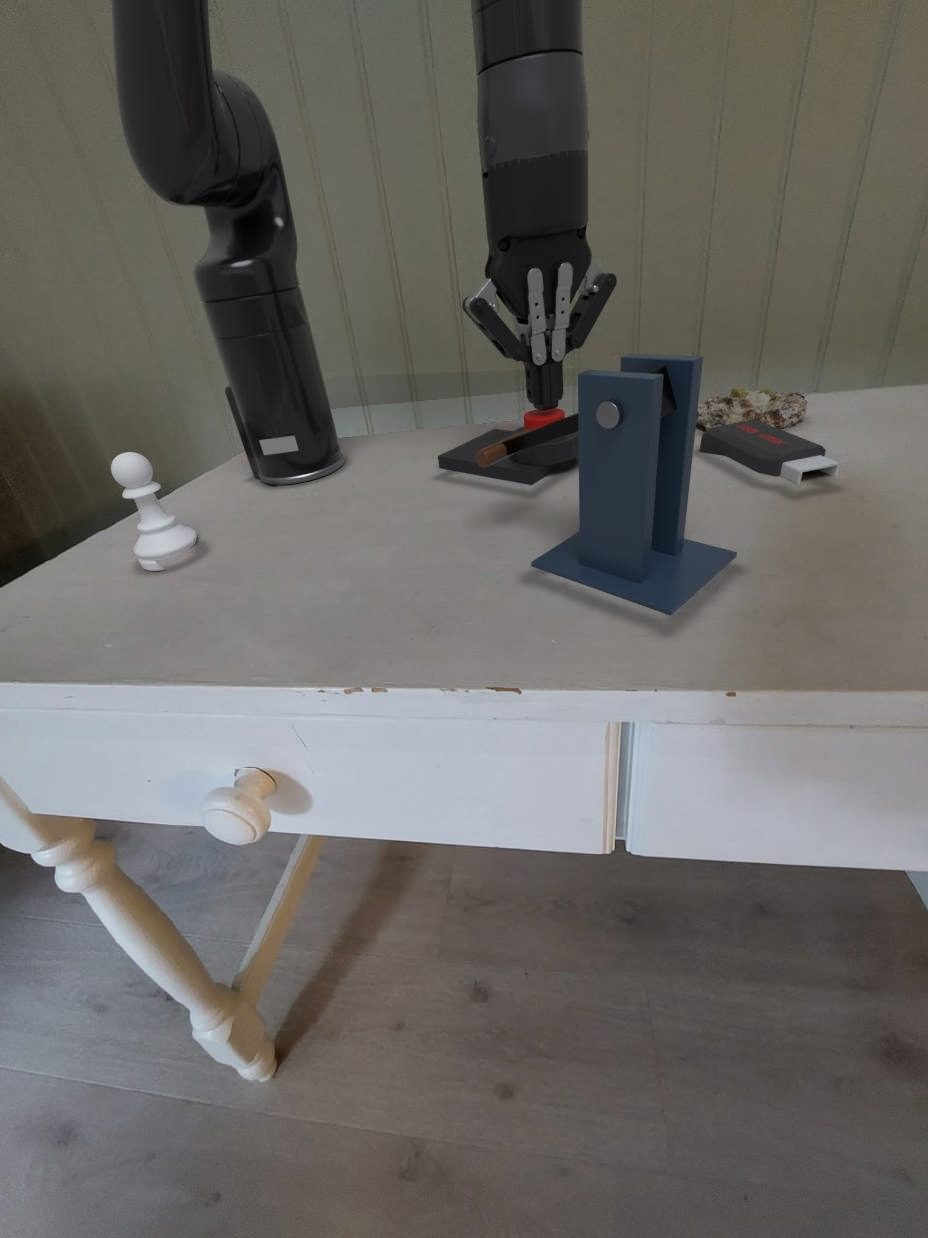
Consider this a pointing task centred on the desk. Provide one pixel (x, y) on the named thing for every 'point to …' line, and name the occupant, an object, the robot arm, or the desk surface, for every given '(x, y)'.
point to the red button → (542, 418)
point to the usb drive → (767, 450)
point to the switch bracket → (637, 487)
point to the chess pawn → (150, 513)
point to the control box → (512, 458)
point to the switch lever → (558, 429)
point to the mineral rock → (752, 408)
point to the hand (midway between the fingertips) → (545, 407)
